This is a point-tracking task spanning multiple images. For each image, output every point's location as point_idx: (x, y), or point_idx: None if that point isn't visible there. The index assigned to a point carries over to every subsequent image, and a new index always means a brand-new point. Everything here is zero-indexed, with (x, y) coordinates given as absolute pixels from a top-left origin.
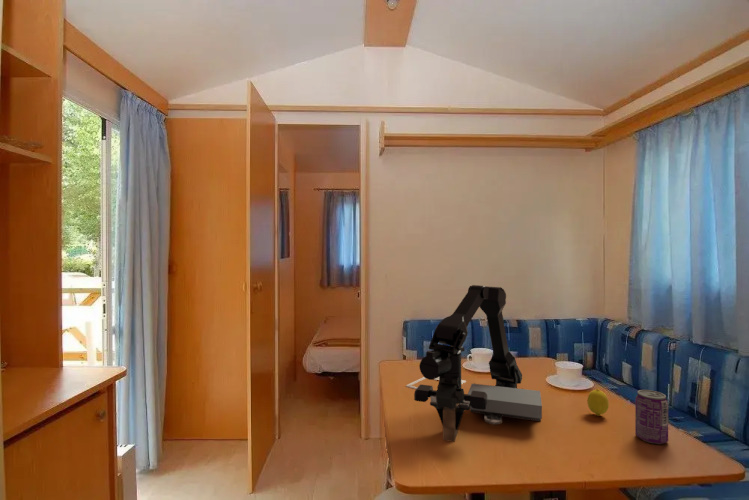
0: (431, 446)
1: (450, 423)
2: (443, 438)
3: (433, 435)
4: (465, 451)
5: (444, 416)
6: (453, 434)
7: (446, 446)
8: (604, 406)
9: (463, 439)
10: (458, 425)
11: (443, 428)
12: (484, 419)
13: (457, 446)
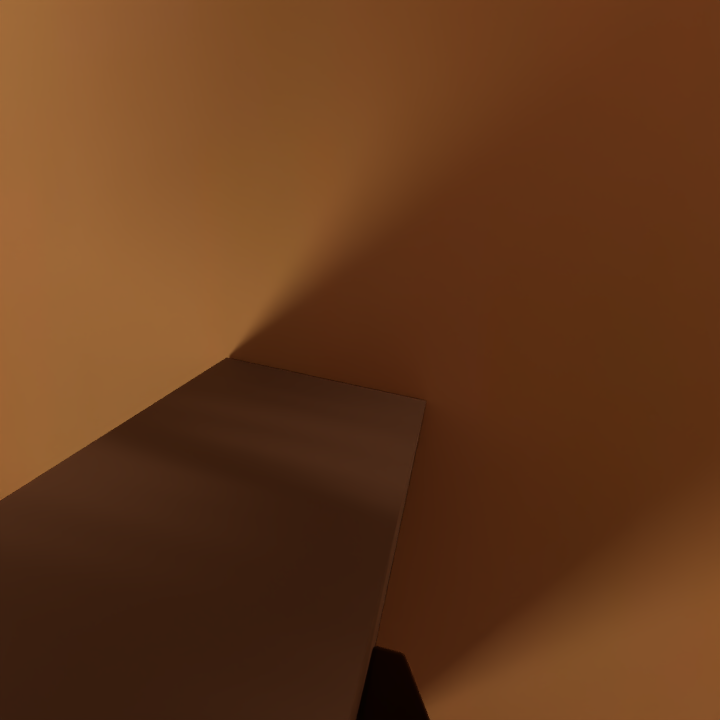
0: (665, 102)
1: (138, 513)
2: (414, 406)
3: (599, 552)
4: (32, 32)
5: (264, 717)
6: (190, 398)
7: (362, 160)
8: None
9: None
10: None
11: (390, 488)
12: None
13: (171, 196)
